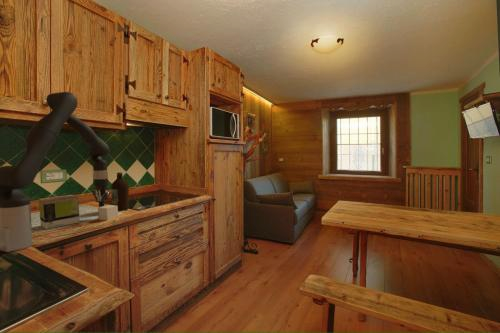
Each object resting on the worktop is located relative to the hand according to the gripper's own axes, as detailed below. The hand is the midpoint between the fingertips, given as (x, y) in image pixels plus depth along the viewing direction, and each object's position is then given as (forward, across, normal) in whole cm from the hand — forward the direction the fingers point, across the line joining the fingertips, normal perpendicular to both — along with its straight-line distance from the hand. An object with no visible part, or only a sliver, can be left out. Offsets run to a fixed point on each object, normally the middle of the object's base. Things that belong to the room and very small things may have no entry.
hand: (101, 207), depth 142 cm
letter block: (+3, +2, 0) cm, 3 cm away
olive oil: (+6, -7, +18) cm, 20 cm away
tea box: (+6, -8, -18) cm, 21 cm away
